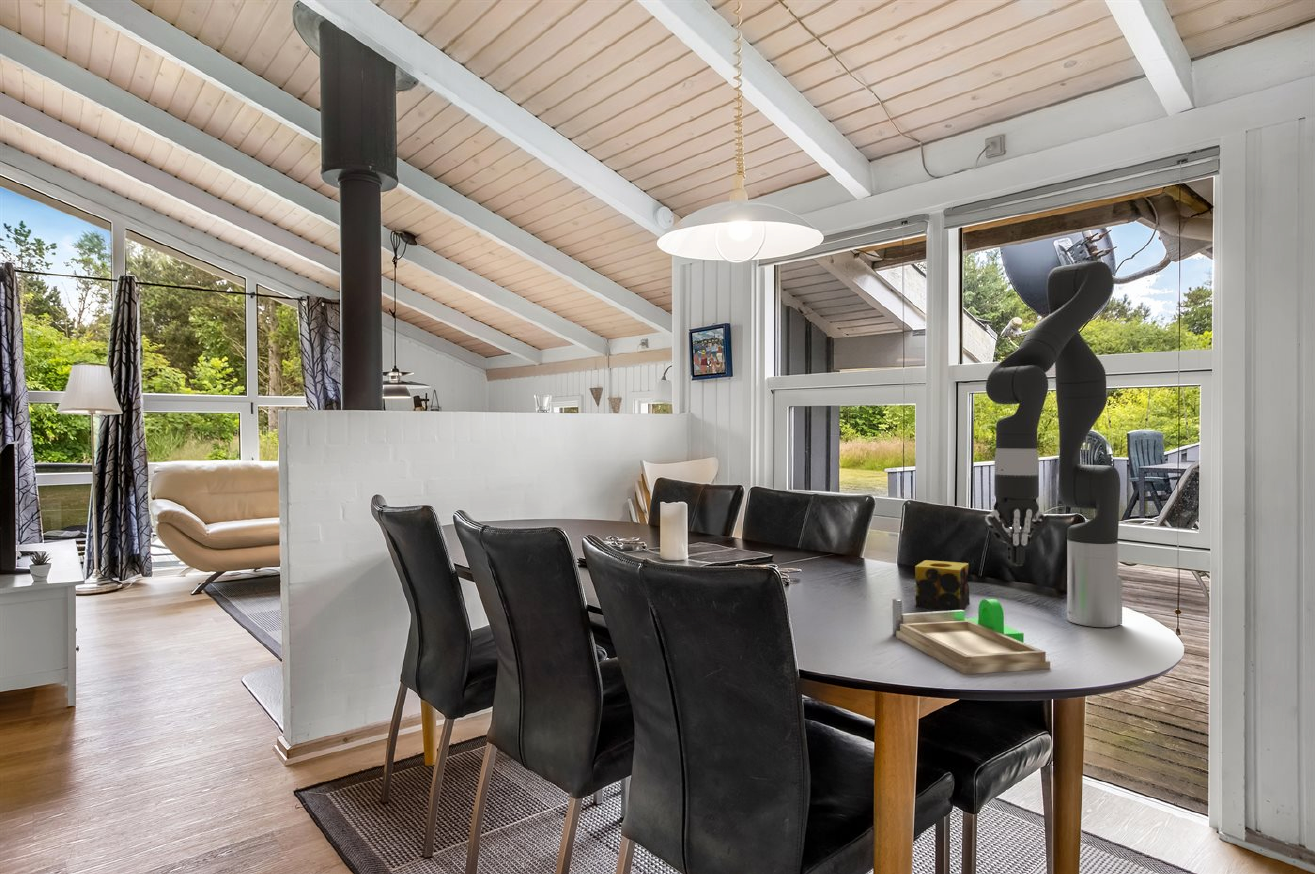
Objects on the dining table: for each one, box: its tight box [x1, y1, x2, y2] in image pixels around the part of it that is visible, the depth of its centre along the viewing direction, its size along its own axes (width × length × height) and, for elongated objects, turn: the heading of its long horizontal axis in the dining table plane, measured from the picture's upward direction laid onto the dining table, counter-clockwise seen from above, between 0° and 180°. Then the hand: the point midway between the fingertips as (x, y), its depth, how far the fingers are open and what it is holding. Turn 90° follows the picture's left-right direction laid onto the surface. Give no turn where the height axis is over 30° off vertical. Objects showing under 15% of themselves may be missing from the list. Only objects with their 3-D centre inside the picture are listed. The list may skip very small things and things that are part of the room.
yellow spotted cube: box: [914, 559, 971, 611], centre depth 172 cm, size 10×10×10 cm
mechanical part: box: [965, 598, 1025, 643], centre depth 148 cm, size 12×6×8 cm, turn 6°
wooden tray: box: [895, 620, 1051, 675], centre depth 136 cm, size 16×23×3 cm
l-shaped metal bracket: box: [892, 598, 966, 637], centre depth 150 cm, size 16×2×7 cm, turn 104°
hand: (1015, 564), depth 139 cm, fingers closed
